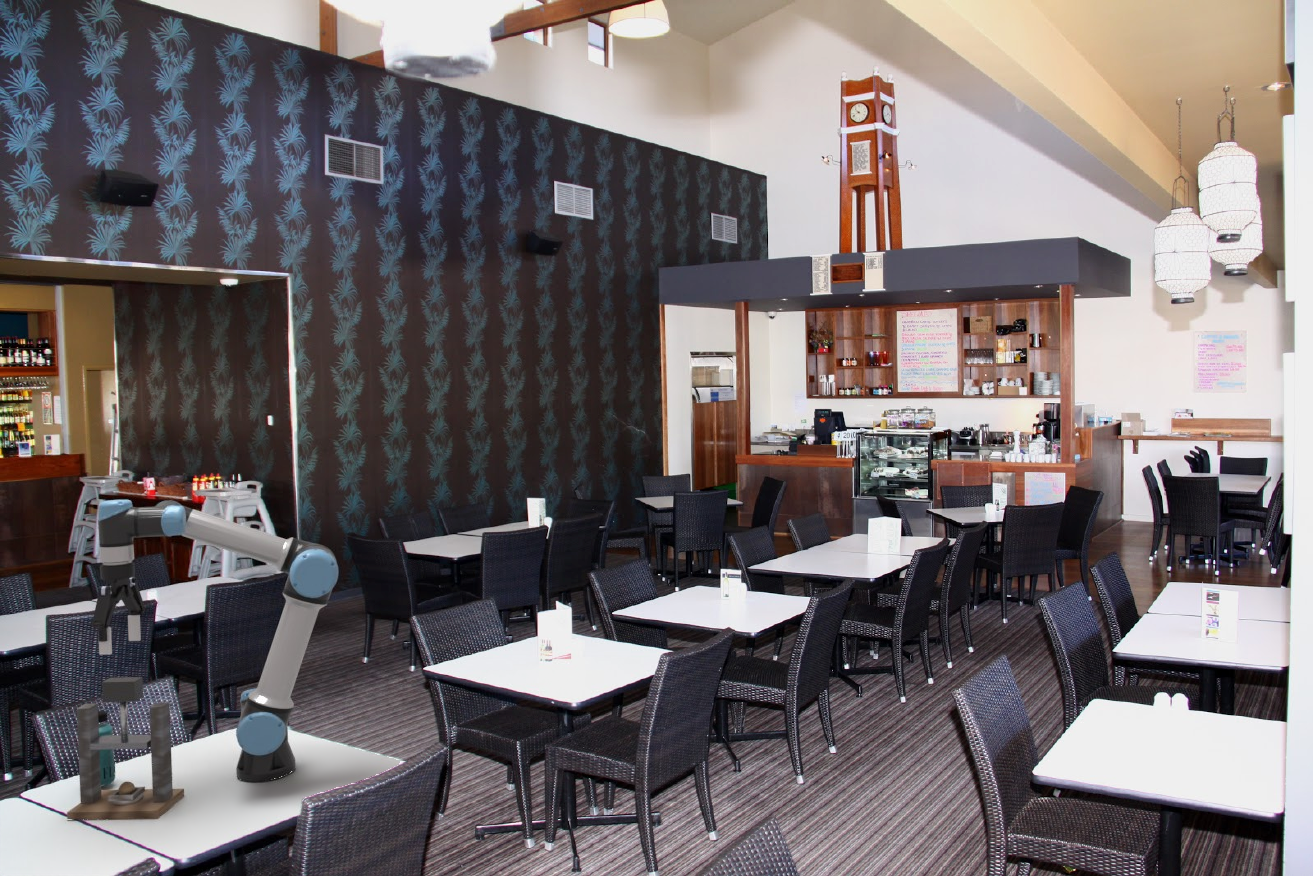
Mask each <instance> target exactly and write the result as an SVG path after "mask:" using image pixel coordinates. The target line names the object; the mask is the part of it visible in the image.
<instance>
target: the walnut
mask: <svg viewBox="0 0 1313 876" xmlns="http://www.w3.org/2000/svg"><path fill="white" fill-rule="evenodd" d="M135 787H136V786H135V784H134V783H133V782H131V781H124V782H122V783H121V784H120V785H119V787H118V789H119V794H120V795H131V794H133V792H134V790H135Z"/></svg>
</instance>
